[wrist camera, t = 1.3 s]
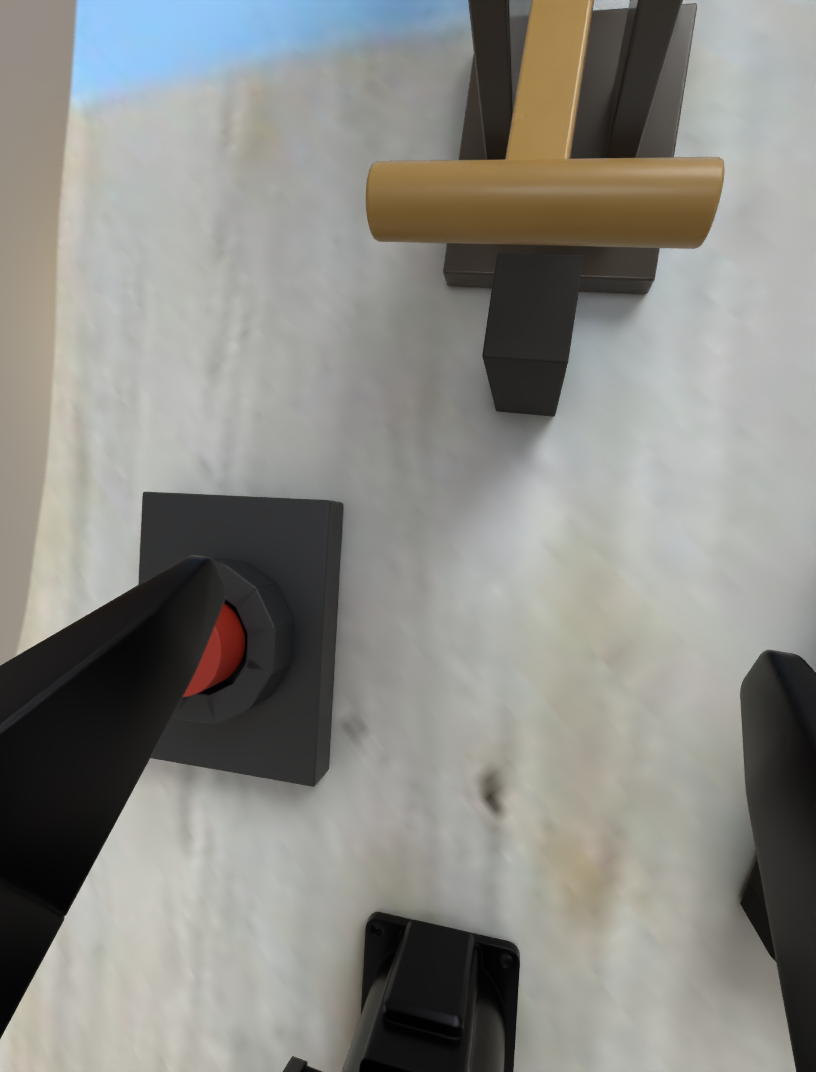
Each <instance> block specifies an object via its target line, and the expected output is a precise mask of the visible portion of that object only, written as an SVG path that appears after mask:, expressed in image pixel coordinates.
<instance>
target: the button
mask: <svg viewBox="0 0 816 1072" xmlns="http://www.w3.org/2000/svg"><path fill="white" fill-rule="evenodd" d="M244 650H245V635H244V630H243V627H242V624H241V622H240V620H239V618H238V616H237V615H236V613H235V612H234V611H233V610H232V609H231V608H230V607H229V606H228V605H227V604H225V603H224V604H223V607H222V609H221V612H220V614H219V617H218V619H217V622H216V624H215V627H214V629H213V632H212V634H211V636H210V639H209V641H208V644H207V646H206V649H205V651H204V654H203V656H202V659H201V661H200V663H199V666H198V668H197V670H196V672H195V674H194V676H193V678H192V680H191V682H190V684H189V686H188V688H187V690H186V692H185V694H184V695H183V697H188V696H192V695H195V694H198V693H200V692H202V691H204V690H206V689H208V688H210V687H212V686H214V685H216V684H218V683H220V682H222V681H224V680H226V679H227V678H229V677H230V676H231V675H232V674H233V673H234V672H235V671H236V669H237V668H238V667H239V665H240V663H241V660H242V658H243V654H244Z"/></svg>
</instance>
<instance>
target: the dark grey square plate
mask: <svg viewBox="0 0 816 1072" xmlns="http://www.w3.org/2000/svg"><path fill="white" fill-rule="evenodd" d="M342 514H343V503H341V502H336V501H330V500H311V499H290V498H268V497H247V496H225V495H204V494H182V493H161V492H143V500H142V522H141V543H140V564H139V585H140V584H141V583H143V582H145V581H146V580H148V579H150V578H151V577H153V576H155V575H157V574H158V573H160V572H162V571H163V570H165V569H167V568H169V567H170V566H172V565H174V564H175V563H177V562H179V561H181V560H182V559H184V558H186V557H188V556H191V555H197V556H203V557H209V558H212V559H213V560H214V561H215V562H216V564H217V567H218V569H219V572H220V574H221V576H222V579H223V581H224V584H225V586H226V599H225V602H224V603H225V604H227V605H228V606H229V607H230V608H231V609H232V610H233V611H234V612H235V613H236V615H237V616H238V618H239V620H240V622H241V624H242V627H243V630H244V635H245V650H244V654H243V658H242V660H241V663H240V665H239V667H238V668H237V669H236V671H235V672H234V673H233V674H232V675H231V676H230V677H229V678H227V679H226V680H224V681H222V682H220V683H218V684H216V685H214V686H212V687H210V688H208V689H206V690H204V691H202V692H200V693H198V694H195V695H192V696H188V697H182V699H181V701H180V703H179V705H178V707H177V709H176V710H175V712H174V714H173V716H172V718H171V720H170V722H169V724H168V725H167V727H166V729H165V731H164V733H163V735H162V737H161V739H160V740H159V742H158V744H157V746H156V748H155V750H154V752H153V754H152V755H151V757H150V758H154V759H159V760H165V761H171V762H176V763H182V764H188V765H194V766H199V767H205V768H211V769H216V770H222V771H228V772H233V773H239V774H245V775H250V776H256V777H262V778H268V779H273V780H279V781H285V782H290V783H296V784H302V785H307V786H315V785H316V784H317V783H318V782H319V780H320V779H321V778H322V777H323V776H324V774H325V773H326V772H327V771H328V769H329V756H330V737H331V719H332V700H333V681H334V663H335V644H336V626H337V607H338V589H339V570H340V552H341V533H342Z"/></svg>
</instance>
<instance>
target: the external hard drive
mask: <svg viewBox="0 0 816 1072" xmlns="http://www.w3.org/2000/svg"><path fill="white" fill-rule="evenodd" d="M740 904H741V906H742V908H743V909H744V911H745V913H746V915H747V916H748V918H749V920H750V921H751V923H752V925H753V927H754V928H755V930H756V932H757V934H758V935H759V937H760V939H761V940H762V942H763V944H764V946H765V947H766V949H767V951H768V953H769V954H770V956H771V957H772V958H773V959H774V960H775V961H776V957H775V952H774V946H773V941H772V935H771V930H770V924H769V919H768V913H767V908H766V902H765V897H764V891H763V886H762V880H761V875H760V869H759V864H758V860H757V862H756V865H755V867H754V870H753V872H752V875H751V877H750V880H749V883H748V885H747V887H746V890H745V892H744V895H743V897H742V900H741V902H740Z"/></svg>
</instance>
